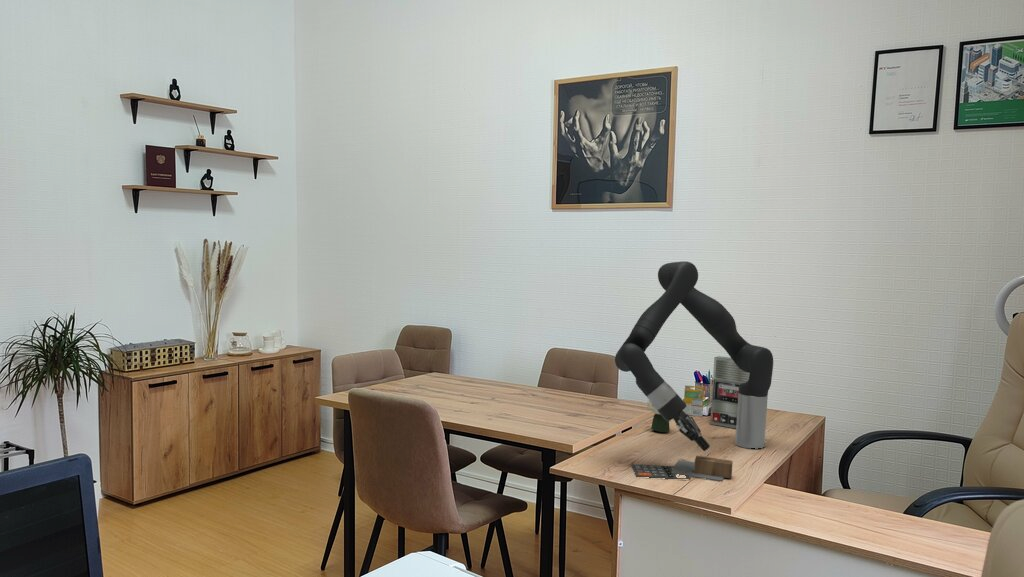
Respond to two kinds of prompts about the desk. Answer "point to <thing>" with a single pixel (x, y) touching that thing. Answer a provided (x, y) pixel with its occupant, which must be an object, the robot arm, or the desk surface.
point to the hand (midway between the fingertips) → (707, 448)
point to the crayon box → (693, 400)
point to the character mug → (658, 420)
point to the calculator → (655, 471)
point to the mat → (691, 470)
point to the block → (713, 466)
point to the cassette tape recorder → (726, 391)
